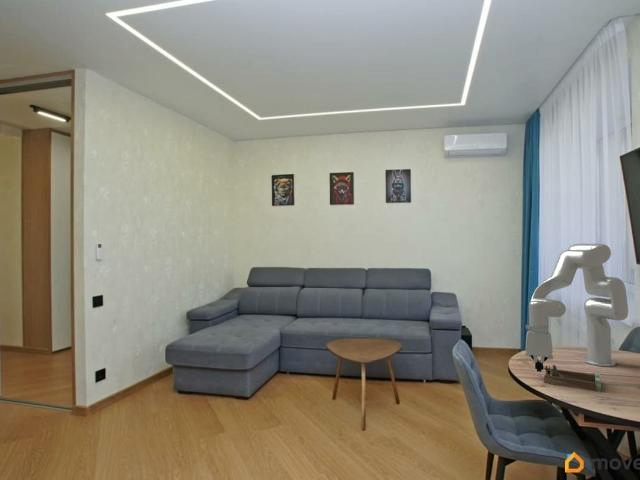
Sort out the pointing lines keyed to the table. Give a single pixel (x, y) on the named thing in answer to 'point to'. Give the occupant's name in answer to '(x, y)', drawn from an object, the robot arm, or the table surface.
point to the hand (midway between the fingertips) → (539, 370)
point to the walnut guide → (575, 380)
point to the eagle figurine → (553, 371)
